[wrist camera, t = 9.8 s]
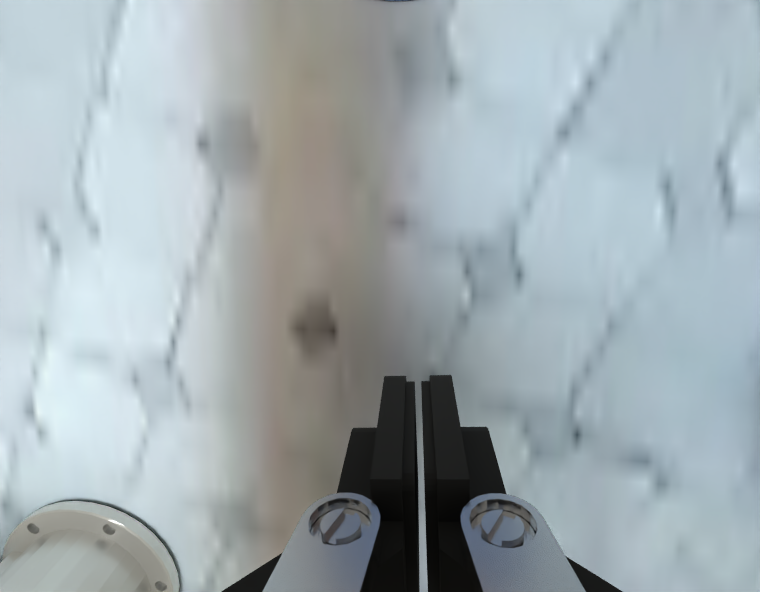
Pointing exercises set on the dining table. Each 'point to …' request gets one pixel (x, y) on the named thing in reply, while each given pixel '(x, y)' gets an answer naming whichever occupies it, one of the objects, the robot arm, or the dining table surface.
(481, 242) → the dining table surface
